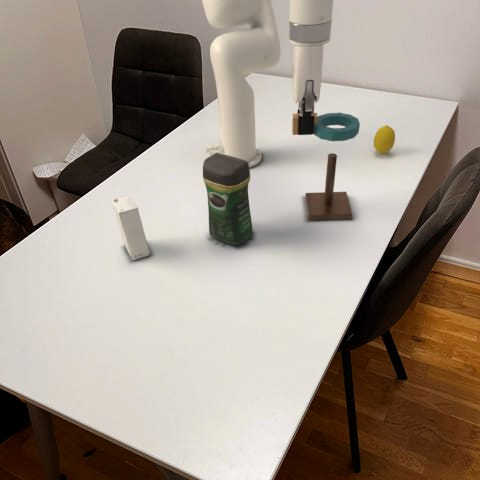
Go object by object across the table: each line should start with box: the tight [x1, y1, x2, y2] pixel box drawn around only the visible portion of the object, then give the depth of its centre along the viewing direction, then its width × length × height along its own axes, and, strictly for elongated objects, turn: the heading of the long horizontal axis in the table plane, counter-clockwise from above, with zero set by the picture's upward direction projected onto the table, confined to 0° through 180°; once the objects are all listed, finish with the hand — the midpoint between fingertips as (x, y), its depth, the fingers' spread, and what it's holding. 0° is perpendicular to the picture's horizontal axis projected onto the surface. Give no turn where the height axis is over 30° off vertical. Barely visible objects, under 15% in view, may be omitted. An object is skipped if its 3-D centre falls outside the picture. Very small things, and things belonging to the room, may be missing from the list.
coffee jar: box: [202, 153, 254, 247], centre depth 101 cm, size 10×8×19 cm
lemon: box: [373, 124, 396, 155], centre depth 129 cm, size 6×6×8 cm
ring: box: [291, 112, 361, 142], centre depth 97 cm, size 14×9×4 cm
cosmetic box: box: [111, 195, 151, 261], centre depth 101 cm, size 6×4×12 cm
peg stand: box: [304, 152, 353, 222], centre depth 109 cm, size 10×10×14 cm
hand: (304, 130), depth 98 cm, fingers closed on ring, 2 cm apart
